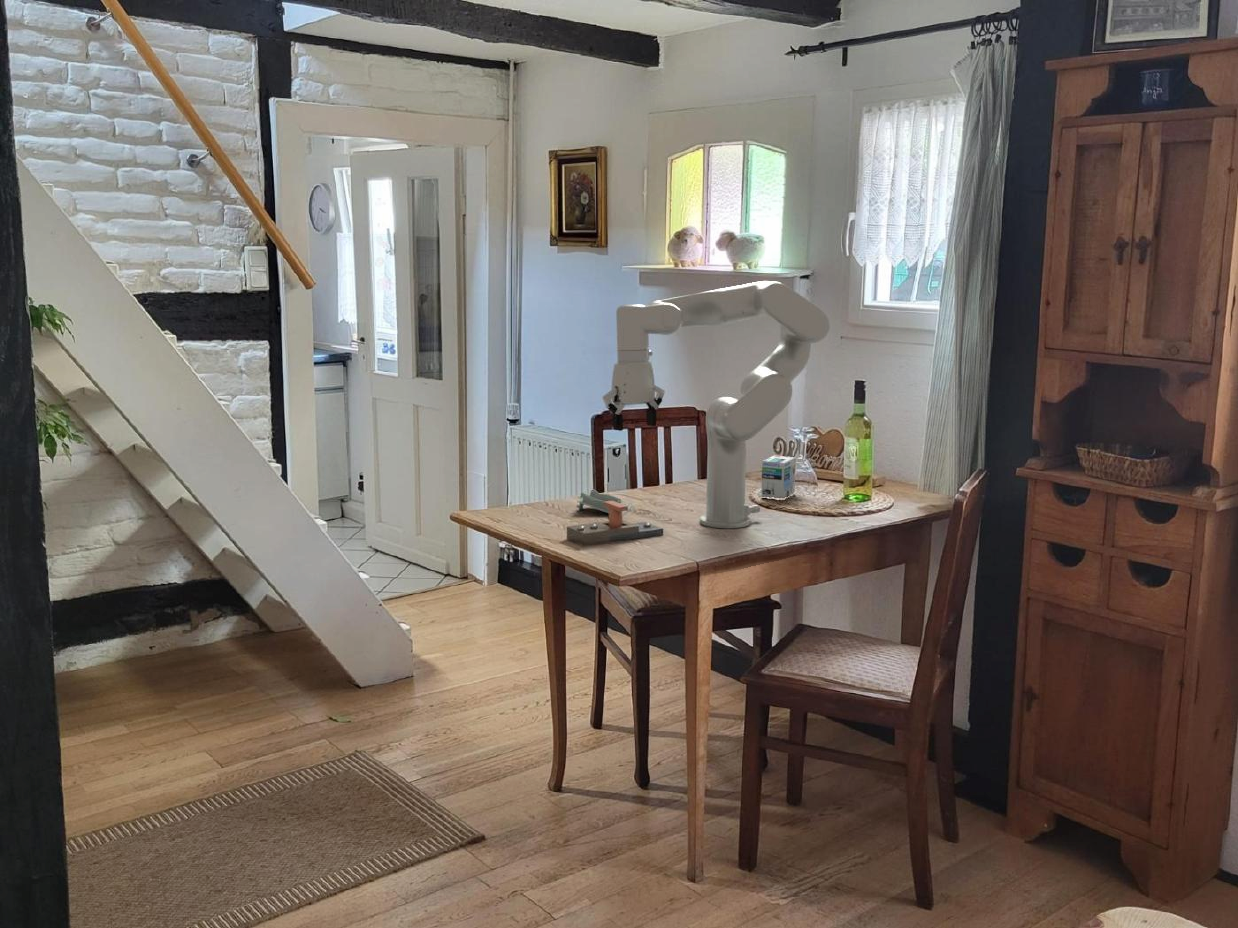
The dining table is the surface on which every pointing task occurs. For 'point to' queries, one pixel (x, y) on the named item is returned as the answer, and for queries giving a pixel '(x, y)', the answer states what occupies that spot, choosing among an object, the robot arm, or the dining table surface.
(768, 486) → the light bulb box
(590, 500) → the metal bracket
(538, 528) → the dining table surface
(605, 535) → the studded slotted plate
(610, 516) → the orange t-shaped block
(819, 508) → the dining table surface
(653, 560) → the dining table surface
